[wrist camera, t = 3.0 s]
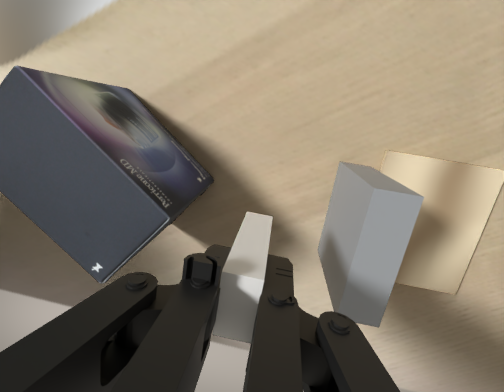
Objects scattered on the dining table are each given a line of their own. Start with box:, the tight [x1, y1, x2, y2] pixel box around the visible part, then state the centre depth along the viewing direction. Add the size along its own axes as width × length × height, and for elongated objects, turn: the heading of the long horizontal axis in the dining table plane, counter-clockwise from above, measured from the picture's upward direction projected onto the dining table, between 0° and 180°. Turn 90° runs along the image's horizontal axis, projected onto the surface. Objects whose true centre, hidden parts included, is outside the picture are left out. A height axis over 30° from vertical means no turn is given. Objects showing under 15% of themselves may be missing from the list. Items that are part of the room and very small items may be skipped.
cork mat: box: [380, 150, 504, 295], centre depth 23 cm, size 9×11×1 cm
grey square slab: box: [318, 162, 424, 327], centre depth 20 cm, size 3×8×9 cm, turn 171°
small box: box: [0, 66, 214, 283], centre depth 20 cm, size 11×6×10 cm, turn 43°
